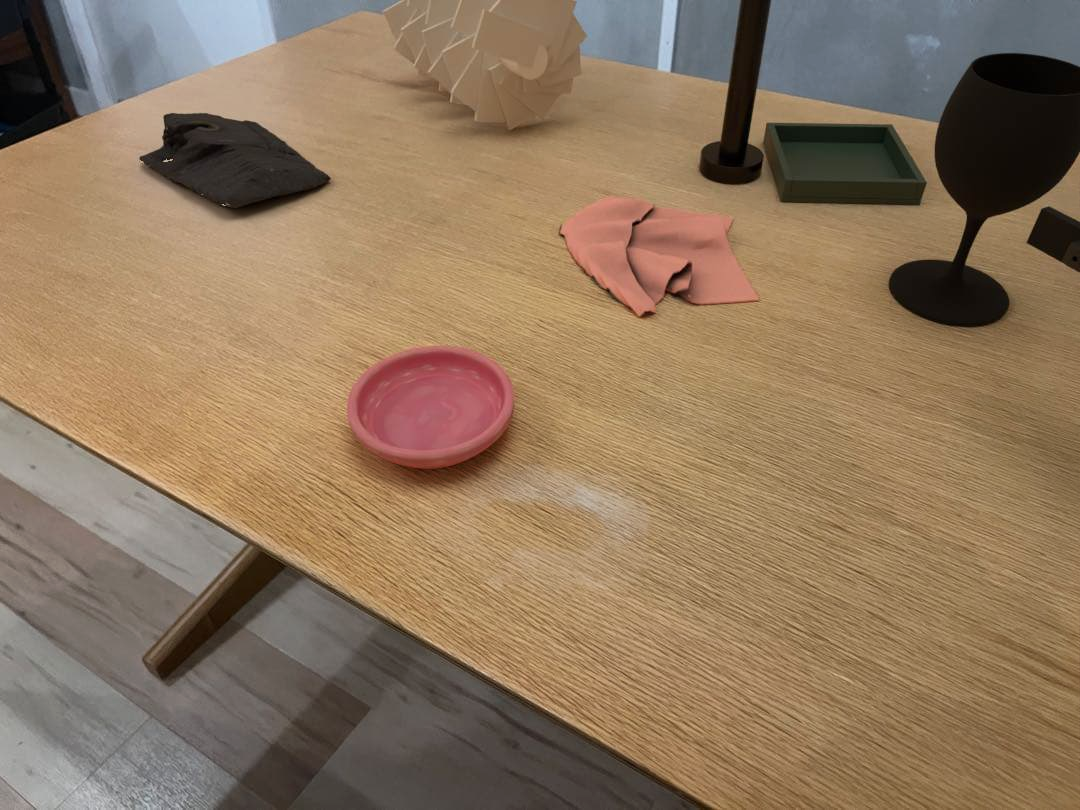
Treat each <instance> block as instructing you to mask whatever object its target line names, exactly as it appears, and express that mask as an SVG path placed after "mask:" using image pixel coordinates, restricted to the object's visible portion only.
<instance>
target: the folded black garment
mask: <svg viewBox="0 0 1080 810" xmlns="http://www.w3.org/2000/svg"><path fill="white" fill-rule="evenodd" d="M163 125H164V128H163V133H162V136H161V139H162V142H163V144H162V146H161V147H160V148H157V149H156V150H153V151H151V152H148V153H146V154H144V155H141V156H139V158H138V159H139V161H140V160H141V161H143V162H144V163H145V164H146V165H145V164H144V163H143V162H142V163H143V164H144V165H145V166H148V165H150V166H149V167H150V168H151V169H153V170H155V172H157V171H158V172H157V173H159V174H160V175H161V174H162V175H161V176H163V177H165V176H167V177H166V178H167V179H168V180H170V179H172V180H171V181H173V182H174V183H175V182H177V183H176V184H178V183H182V184H181V185H183V186H186V188H188V189H189V190H192V191H195V192H196V193H197V194H198V193H200V194H203V195H204V197H205V198H208V199H210V200H211V201H213V202H215V201H216V202H215V203H218V202H219V203H218V204H220V205H221V204H224V205H226V207H229V208H232V209H238V208H241V207H244V206H246V205H249V203H251V204H252V203H253V204H255V203H257V202H260V201H265V200H268V199H271V198H274V196H275V197H282V196H286V195H291V194H294V193H298V192H304V191H307V190H311V188H312V189H315V188H317V187H319V186H321V185H323V184H325V183H326V182H328V181H330V180H331V179H332V178H331V176H329V175H328V174H326V172H324V171H323V170H321V169H319V168H318V167H316V166H315V164H313V163H312V162H310V161H309V160H307V159H306V158H305V157H303V156H302V155H301V154H300V153H299V151H297V150H295V149H294V148H293V147H291V146H290V145H288V143H287V142H286V141H285V140H282V139H281V138H279V137H278V135H276V134H274V133H273V132H271V131H270V130H268V128H266V127H263V126H262V125H260V124H259V123H258V122H256V121H253V120H252V121H251V120H248V119H246V120H245V119H244V120H238V119H232V118H227V117H223V116H221V115H218V114H211V113H207V112H193V113H176V112H170V113H165V114H164V115H163ZM166 159H167V160H170V159H173V160H172V161H168V162H163V161H164V160H166ZM303 190H304V191H303ZM200 194H199V195H200ZM254 202H255V203H254Z"/></svg>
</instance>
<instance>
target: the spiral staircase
mask: <svg viewBox="0 0 1080 810" xmlns="http://www.w3.org/2000/svg"><path fill="white" fill-rule="evenodd" d="M576 5H577V0H400V1H397V2H396V3H394V4H392V5H390V6H389V7H387V8H385V9H384V10H382V13H383V16H384V18H385V20H386V23H387V25H388V28H389V29H390V32H391V35H392V36H393V39H394V41H395V43H394V45H393V46H392V49H393V50H394V51H396V52H397V53H398V54H399V55H401V56H402V57H404V58H405V59H406V60H408V61H409V62H410V63H412V64H413V65H412V67H414V68H415V69H416V75H417V76H429V77H430V78H431V79H433V80H435V81H437V82H438V91H439V92H448V93H450V96H449V97H450V98H449V103H450V104H457V105H465V106H467V107H468V108H469V109H471V110H472V111H474V112H475V113H474V122H476V123H504V124H506V128H507V130H508V131H512V130H513V129H516V128H517V127H518V126H521V125H522V124H524V123H526V122H527V121H529V120H530V119H533V118H534V117H536V116H537V117H538V119H540V120H541V121H544V120H545V118H546V117H547V115H548V114H549V113H550V111H551V110H552V108H553V107H554V106H555V103H556V102H557V100H558V99H559V98H560V96H561V95H571V93H572V90H573V89H572V88H573V84H574V79H575V78H577V77H580V76H582V64H581V62H582V61H581V50H580V49H581V47H580V45H581V44H582V43H583V42H584V41H585V40H586V39H587V38H588V35H587V33H586V32H585V30H584V29H583V27H582V25H581V23H580V22H579V20H578V19H577V17H576V15H575V14H574V11H575V8H576Z"/></svg>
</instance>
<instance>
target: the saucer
mask: <svg viewBox="0 0 1080 810" xmlns="http://www.w3.org/2000/svg"><path fill="white" fill-rule="evenodd" d="M515 397H516V396H515V388H514V386H513V382H512V380H511V378H510V376H509V375H508V373H507V372H506V371H505V370H504V368H503V367H502V366H501V365H500V364H498V362H496V361H495V360H493V359H492V358H490V357H488V356H487V355H485V354H483V353H480V352H478V351H476V350H473V349H468V348H465V347H459V346H453V345H426V346H419V347H414V348H409V349H405V350H401V351H399V352H396V353H393V354H391V355H389V356H386V357H384V358H382V359H381V360H379V361H377V362H375V363H374V364H373V365H371V366H370V367H369V368H367V369H366V370H365V371H364V372H363V373H362V374H361V375H360V376H359V377H358V378H357V379H356V381H355V382H354V384H353V386H352V388H351V389H350V392H349V394H348V397H347V400H346V401H347V403H346V415H347V420H348V423H349V427H350V429H351V432H352V434H353V435H354V437H355V438H356V439H357V441H358V442H359V443H360V444H361V445H362V446H363V448H365V449H366V450H368V451H369V452H371V453H372V454H374V455H375V456H377V457H378V458H382V459H384V460H385V461H388V462H391V463H394V464H397V465H399V466H405V467H409V468H414V469H421V470H434V469H443V468H447V467H452V466H455V465H458V464H460V463H463V462H465V461H468V460H469V459H472V458H474V457H475V456H477V455H480V453H482V452H483V451H485V450H486V449H489V447H490V446H491V445H492V444H494V443H496V441H497V440H499V438H501V436H502V435H503V434H504V433H505V431H506V430H507V428H509V427H508V426H509V425H510V423H511V421H512V419H513V415H514V412H515V406H516V405H515V404H516V399H515Z"/></svg>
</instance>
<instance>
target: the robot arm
mask: <svg viewBox="0 0 1080 810" xmlns="http://www.w3.org/2000/svg"><path fill="white" fill-rule="evenodd" d="M1026 244H1027V245H1030V246H1031V247H1032V248H1035V249H1037V250H1038V251H1040V252H1041V253H1044V254H1046V255H1047V256H1049V257H1051V258H1053V259H1054V260H1056V261H1058V262H1060V263H1062V264H1064V265H1065V267H1068V268H1069V269H1071V270H1074V271H1076V272H1077V273H1080V221H1079V220H1077V219H1075V218H1073V217H1071V216H1069V215H1068V214H1065V213H1063V212H1061V211H1060V210H1058V209H1055V208H1054V207H1051V206H1046V207H1042V208H1041V209H1040V210H1039V214H1038V216H1037V217H1036V220H1035V222H1034V225H1033V226H1032V229H1031V232H1030V234H1029V236H1028V238H1027V240H1026Z"/></svg>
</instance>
